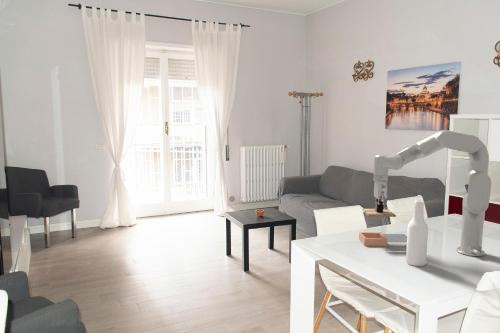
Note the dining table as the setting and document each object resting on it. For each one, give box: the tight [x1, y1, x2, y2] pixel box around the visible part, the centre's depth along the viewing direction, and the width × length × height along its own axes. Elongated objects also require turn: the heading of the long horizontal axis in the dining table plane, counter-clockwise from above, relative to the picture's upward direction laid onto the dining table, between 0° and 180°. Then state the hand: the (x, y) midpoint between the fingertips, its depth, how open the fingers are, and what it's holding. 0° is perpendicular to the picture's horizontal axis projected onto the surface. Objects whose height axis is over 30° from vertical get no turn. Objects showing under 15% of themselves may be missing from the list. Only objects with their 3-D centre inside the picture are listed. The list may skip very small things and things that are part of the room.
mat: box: [382, 233, 407, 243], centre depth 226 cm, size 16×16×1 cm
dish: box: [358, 231, 388, 247], centre depth 217 cm, size 12×12×4 cm
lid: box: [362, 201, 397, 218], centre depth 217 cm, size 14×14×6 cm
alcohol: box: [405, 199, 429, 267], centre depth 185 cm, size 9×9×30 cm
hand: (378, 210), depth 217 cm, fingers closed on lid, 3 cm apart
